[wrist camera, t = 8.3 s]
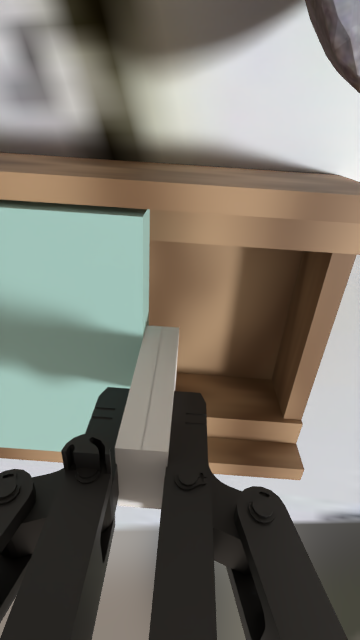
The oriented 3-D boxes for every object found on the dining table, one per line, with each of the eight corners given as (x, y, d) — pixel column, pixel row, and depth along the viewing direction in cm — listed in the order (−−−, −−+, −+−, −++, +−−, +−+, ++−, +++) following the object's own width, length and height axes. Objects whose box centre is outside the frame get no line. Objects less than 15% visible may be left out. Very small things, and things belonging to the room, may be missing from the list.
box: (24, 382, 24) (-25, 456, 19) (-29, 150, 16) (-138, 162, 11) (276, 400, 24) (300, 479, 18) (338, 174, 16) (407, 198, 11)
